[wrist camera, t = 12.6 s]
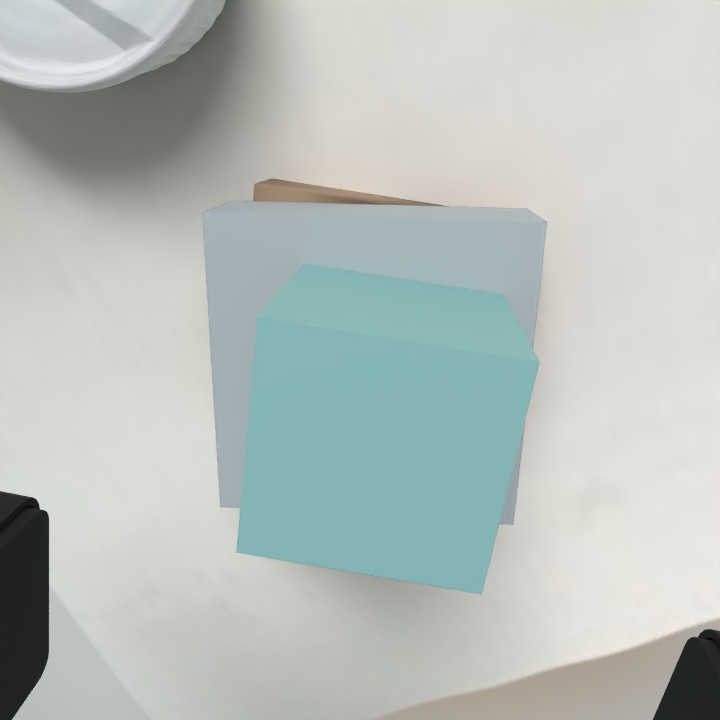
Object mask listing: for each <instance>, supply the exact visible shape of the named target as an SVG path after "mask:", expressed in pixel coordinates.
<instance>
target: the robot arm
mask: <svg viewBox="0 0 720 720" xmlns="http://www.w3.org/2000/svg"><path fill="white" fill-rule="evenodd" d="M48 654H49V517H48V513H47V512H46V511H44V510H40V508H39V503H38V501H37V500H36V499H35V498H32V497H27V496H22V495H17V494H11V493H6V492H1V491H0V720H12V719H13V717H14V716H15V714H16V713H17V711H18V710H19V708H20V707H21V706H22V704H23V703H24V701H25V700H26V698H27V697H28V695H29V694H30V692H31V691H32V690H33V688H34V687H35V685H36V684H37V682H38V681H39V679H40V677H41V675H42V674H43V671H44V669H45V666H46V663H47V660H48ZM653 720H720V631H717V630H711V629H708V630H704V631H703V632H701V633H700V635H699V636H698V638H697V637H691V638H690V639H689V640H688V641H687V642H686V644H685V646H684V649H683V651H682V653H681V656H680V658H679V660H678V662H677V665H676V667H675V670H674V672H673V674H672V677H671V679H670V681H669V684H668V686H667V688H666V690H665V693H664V695H663V697H662V700H661V702H660V704H659V707H658V709H657V711H656V714H655V716H654V718H653Z"/></svg>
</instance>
